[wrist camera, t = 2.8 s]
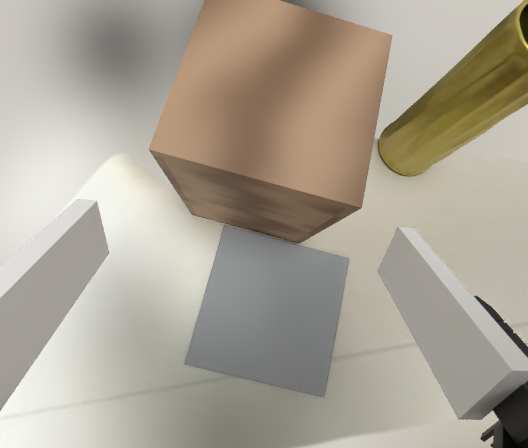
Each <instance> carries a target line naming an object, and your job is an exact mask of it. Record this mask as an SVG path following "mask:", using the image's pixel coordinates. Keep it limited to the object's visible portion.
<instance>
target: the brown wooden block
mask: <svg viewBox="0 0 528 448" xmlns="http://www.w3.org/2000/svg"><path fill="white" fill-rule="evenodd" d="M391 40H392V35H389V34H387V33H383V32H380V31H377V30H374V29H370V28H367V27H363V26H360V25H357V24H354V23H350V22H348V21H344V20H341V19H338V18H334V17H331V16H328V15H325V14H321V13H318V12H315V11H312V10H309V9H305V8H302V7H299V6H296V5H292V4H289V3H286V2H283V1H279V0H204V3H203V6H202V9H201V11H200V14H199V16H198V19H197V22H196V24H195V27H194V30H193V32H192V35H191V38H190V40H189V43H188V46H187V49H186V51H185V54H184V57H183V59H182V62H181V65H180V67H179V70H178V72H177V75H176V78H175V80H174V83H173V86H172V88H171V91H170V94H169V97H168V99H167V102H166V104H165V107H164V110H163V113H162V115H161V118H160V121H159V123H158V126H157V129H156V131H155V134H154V136H153V139H152V142H151V144H150V147H149V150H150V152H151V153H152V155H153V156H154V158H155V160H156V161H157V163H158V164H159V166H160V167H161V168H162V170H163V172H164V173H165V175H166V176H167V178H168V179H169V181H170V182H171V184H172V185H173V187H174V188H175V190H176V191H177V193H178V194H179V196H180V197H181V199H182V200H183V202H184V203H185V205H186V206H187V208H188V209H189V211H190V212H191V214H192V215H196V216H200V217H203V218H207V219H211V220H215V221H218V222H222V223H226V224H230V225H233V226H237V227H241V228H245V229H248V230H252V231H256V232H260V233H264V234H267V235H271V236H275V237H279V238H282V239H286V240H290V241H294V242H297V243H301V242H303V241H304V240H306V239H308V238H310V237H311V236H313V235H315V234H317V233H318V232H320V231H322V230H324V229H326V228H327V227H329V226H331V225H333V224H334V223H336V222H338V221H340V220H341V219H343V218H345V217H347V216H348V215H350V214H352V213H354V212H355V211H357V210H359V209H361V208H362V203H363V197H364V192H365V186H366V180H367V175H368V169H369V163H370V158H371V152H372V147H373V141H374V135H375V130H376V124H377V118H378V113H379V107H380V102H381V96H382V90H383V85H384V79H385V73H386V68H387V62H388V57H389V51H390V46H391Z"/></svg>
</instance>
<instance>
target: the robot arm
mask: <svg viewBox="0 0 528 448" xmlns="http://www.w3.org/2000/svg"><path fill="white" fill-rule="evenodd" d="M108 254H109V250H108V246H107V242H106V238H105V233H104V229H103V225H102V221H101V217H100V212H99V208H98V204H97V201H92V200H80V199H77V200H76V201H75V202H74V203H72V204H71V205H70V206H69V207H68V208H67V209H66V210H64V211H63V212H62V213H61V214H60V215H59V216H58V217H57V218H55V219H54V220H53V221H52V222H51V223H50V224H49V225H48V226H46V227H45V228H44V229H43V230H42V231H41V232H40V233H39V234H37V235H36V236H35V237H34V238H33V239H32V240H31V241H30V242H28V243H27V244H26V245H25V246H24V247H23V248H22V249H20V250H19V251H18V252H17V253H16V254H15V255H14V256H13V257H12V258H10V259H9V260H8V261H7V262H6V263H5V264H3V266H1V267H0V411H1V409H2V408H3V406H4V405H5V403H6V402H7V400H8V399H9V397H10V396H11V395H12V393H13V392H14V390H15V389H16V387H17V386H18V384H19V383H20V381H21V380H22V379H23V377H24V376H25V374H26V373H27V371H28V370H29V368H30V367H31V366H32V364H33V363H34V361H35V360H36V358H37V357H38V355H39V354H40V352H41V351H42V350H43V348H44V347H45V345H46V344H47V342H48V341H49V339H50V338H51V336H52V335H53V334H54V332H55V331H56V329H57V328H58V326H59V325H60V323H61V322H62V320H63V319H64V318H65V316H66V315H67V313H68V312H69V310H70V309H71V307H72V306H73V305H74V303H75V302H76V300H77V299H78V297H79V296H80V294H81V293H82V291H83V290H84V289H85V287H86V286H87V284H88V283H89V281H90V280H91V278H92V277H93V275H94V274H95V273H96V271H97V270H98V268H99V267H100V265H101V264H102V262H103V261H104V259H105V258H106V257H107V255H108ZM378 273H379V275H380V276H381V278H382V280H383V282H384V284H385V286H386V287H387V289H388V291H389V293H390V295H391V297H392V298H393V300H394V302H395V304H396V306H397V308H398V309H399V311H400V313H401V315H402V317H403V319H404V320H405V322H406V324H407V326H408V328H409V330H410V331H411V333H412V335H413V337H414V339H415V340H416V342H417V344H418V346H419V348H420V350H421V351H422V353H423V355H424V357H425V359H426V361H427V362H428V364H429V366H430V368H431V370H432V372H433V373H434V375H435V377H436V379H437V381H438V383H439V384H440V386H441V388H442V390H443V392H444V394H445V395H446V397H447V399H448V401H449V403H450V405H451V406H452V408H453V410H454V412H455V414H456V415H457V417H458V419H475V420H481V419H483V418H484V417H485V416H486V415H487V414H489V413H490V412H491V411H492V410H493V411H494V412H495V414H496V415H497V417H498V418H499V421H498V422H496V423H495V424H494V425H493V426H491V427H490V428H489V429H487V430H486V431H485V432H484V433H482V436H481V438H480V439H481V440H483V441H486V440H487V439H489V438H490V437H491V436H494V442H493V443H492V444H491V447H493V448H528V347H527V346H526V344H525V343H524V342H523V341H522V340H521V339H520V338H519V337H518V336H517V334H514V333H513V330H512V329H511V328H510V327H509V326H508V325H507V323H504V322H503V321H504V320H503V319H502V318H501V317H500V316H499V315H498V313H497V312H496V311H495V310H494V309H493V308H492V307H491V306H489V305H488V304H487V303H485V302H484V301H483V300H481V299H480V298H479V297H477V296H473V295H472V294H471V293H470V291H469V290H468V289H467V288H466V287H465V286H464V285H463V283H462V282H461V281H460V280H459V279H458V278H457V276H456V275H455V274H454V273H453V272H452V271H451V270H450V268H449V267H448V266H447V265H446V264H445V263H444V262H443V260H442V259H441V258H440V257H439V256H438V255H437V254H436V252H435V251H434V250H433V249H432V248H431V247H430V246H429V244H428V243H427V242H426V241H425V240H424V239H423V238H422V236H421V235H420V234H419V233H418V232H417V231H416V230H415V228H410V227H399V226H398V228H397V230H396V232H395V235H394V237H393V239H392V241H391V243H390V245H389V248H388V250H387V252H386V254H385V256H384V259H383V261H382V263H381V265H380V267H379V269H378Z"/></svg>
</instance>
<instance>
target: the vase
mask: <svg viewBox="0 0 528 448" xmlns="http://www.w3.org/2000/svg"><path fill="white" fill-rule="evenodd" d="M527 104H528V0H524V1H523V2H522V3H521V4H520V5H519V6H518V7H517V8H515V9H514V10H513V11H512V12H511V13H510V14H509V15H508V16H507V17H506V18H505V19H503V21H501V22H500V23H499V24H498V25H497V26H496V27H495V28H494V29H493V30H492V31H491V32H490V33H489V34H488V35H487V36H486V37H485V38H484V39H483V40H482V41H481V42H480V43H478V44H477V46H475V47H474V48H473V49H472V50H471V51H470V52H469V53H468V54H467V55H466V56H465V57H464V58H463V59H462V60H461V61H460V62H459V63H457V64H456V65H455V66H454V67H453V68H452V69H451V70H450V71H449V72H448V73H447V74H446V75H445V76H444V77H443V78H441V79H440V80H439V81H438V82H437V83H436V84H435V85H434V86H433V87H432V88H430V90H428V91H427V92H426V93H425V94H424V95H423V96H422V97H421V98H420V99H419V100H418V101H416V102H415V103H414V104H413V105H412V106H411V107H410V108H409V109H407V110H406V111H405V112H404V113H403V114H402V115H401V116H400V117H399V118H398V119H397V120H396V121H394V122H393V123H391V124H390V125H389V126H388V127H386V128H385V129H384V131H383V132H382V134H381V136H380V139H379V151H380V154H381V156H382V158H383V160H384V162H385V163H386V164H387V165H388V166H389V167H390V168H391V169H392V170H394V171H395V172H397V173H399V174H402V175H408V176H413V175H419V174H421V173H423V172H425V171H426V170H427V169H429V168H430V167H431V166H432V165H433V164H435V163H436V162H438V161H440V160H442V159H443V158H445V157H446V156H448V155H450V154H451V153H453V152H454V151H456V150H457V149H459V148H460V147H462V146H464V145H465V144H467V143H469V142H470V141H472V140H473V139H475V138H476V137H478V136H480V135H481V134H483V133H484V132H486V131H487V130H489V129H490V128H491V127H493V126H494V125H495V124H497V123H498V122H500V121H501V120H503V119H504V118H505V117H507V116H509V115H510V114H512V113H514V112H515V111H517V110H518V109H520V108H522V107H524V106H525V105H527Z"/></svg>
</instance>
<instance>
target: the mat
mask: <svg viewBox="0 0 528 448" xmlns="http://www.w3.org/2000/svg"><path fill="white" fill-rule="evenodd" d="M348 263H349V259H348V258H345V257H341V256H337V255H333V254H329V253H326V252H322V251H318V250H314V249H311V248H307V247H303V246H299V245H296V244H292V243H288V242H284V241H281V240H277V239H273V238H269V237H265V236H262V235H258V234H254V233H250V232H247V231H243V230H239V229H235V228H232V227H228V226H224V229H223V233H222V236H221V240H220V243H219V247H218V250H217V254H216V257H215V261H214V264H213V268H212V271H211V274H210V278H209V281H208V285H207V288H206V292H205V295H204V299H203V302H202V306H201V309H200V313H199V316H198V320H197V323H196V326H195V330H194V333H193V337H192V340H191V344H190V347H189V351H188V354H187V358H186V361H185V364H186V365H190V366H194V367H198V368H203V369H207V370H211V371H215V372H219V373H224V374H228V375H232V376H236V377H240V378H244V379H249V380H253V381H257V382H261V383H265V384H269V385H274V386H278V387H282V388H286V389H290V390H295V391H299V392H303V393H307V394H311V395H315V396H320V397H324V396H325V391H326V385H327V380H328V374H329V369H330V363H331V357H332V352H333V346H334V341H335V335H336V330H337V324H338V319H339V313H340V308H341V302H342V297H343V291H344V286H345V280H346V275H347V269H348Z"/></svg>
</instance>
